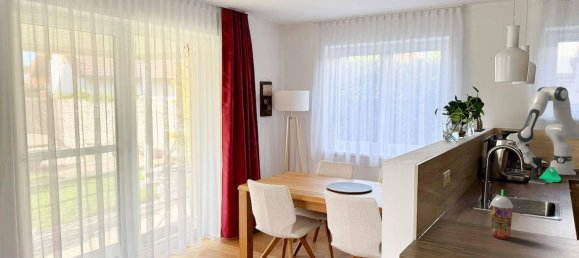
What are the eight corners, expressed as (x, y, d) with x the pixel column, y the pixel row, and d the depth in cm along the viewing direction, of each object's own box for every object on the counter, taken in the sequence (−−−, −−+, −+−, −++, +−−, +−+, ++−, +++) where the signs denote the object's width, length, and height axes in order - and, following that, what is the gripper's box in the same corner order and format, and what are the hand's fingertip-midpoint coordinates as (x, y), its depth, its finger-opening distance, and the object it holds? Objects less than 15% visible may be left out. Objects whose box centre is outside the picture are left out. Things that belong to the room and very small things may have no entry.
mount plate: (532, 180, 277) (532, 177, 277) (547, 182, 270) (547, 179, 270) (528, 182, 270) (528, 179, 270) (544, 184, 264) (544, 181, 264)
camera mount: (538, 181, 276) (539, 166, 275) (540, 179, 281) (541, 165, 280) (558, 183, 267) (559, 168, 267) (560, 182, 273) (561, 167, 272)
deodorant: (537, 178, 283) (538, 158, 282) (529, 177, 289) (530, 157, 288) (542, 178, 286) (543, 158, 284) (535, 176, 291) (535, 157, 290)
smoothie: (490, 238, 159) (492, 191, 157) (488, 232, 167) (489, 186, 165) (513, 241, 156) (515, 192, 154) (510, 234, 164) (511, 188, 162)
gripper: (523, 151, 283) (538, 165, 277) (530, 148, 298) (544, 162, 292) (516, 156, 287) (530, 171, 280) (523, 153, 301) (537, 167, 295)
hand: (537, 166), depth 286 cm, fingers closed on deodorant, 6 cm apart
